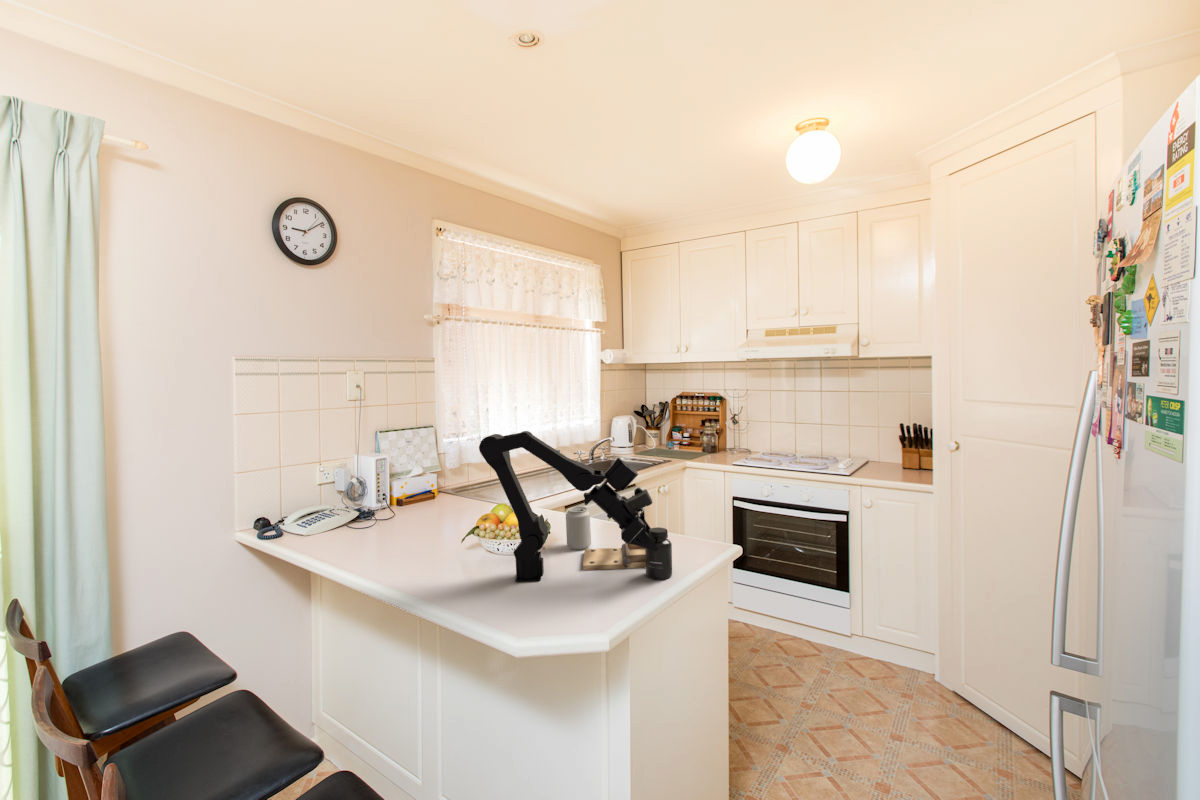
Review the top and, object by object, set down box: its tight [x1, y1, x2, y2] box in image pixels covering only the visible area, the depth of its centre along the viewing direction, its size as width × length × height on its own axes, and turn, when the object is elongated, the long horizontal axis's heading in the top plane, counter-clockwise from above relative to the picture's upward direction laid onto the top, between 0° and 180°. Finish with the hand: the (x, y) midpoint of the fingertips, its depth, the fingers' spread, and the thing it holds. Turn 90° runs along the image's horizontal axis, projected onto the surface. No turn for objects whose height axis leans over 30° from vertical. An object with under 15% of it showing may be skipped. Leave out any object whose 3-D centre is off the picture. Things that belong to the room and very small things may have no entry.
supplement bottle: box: [645, 527, 673, 581], centre depth 137 cm, size 7×7×12 cm
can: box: [565, 506, 592, 551], centre depth 163 cm, size 8×8×12 cm
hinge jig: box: [582, 542, 646, 571], centre depth 150 cm, size 24×14×3 cm, turn 89°
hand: (656, 544), depth 137 cm, fingers open, 9 cm apart
